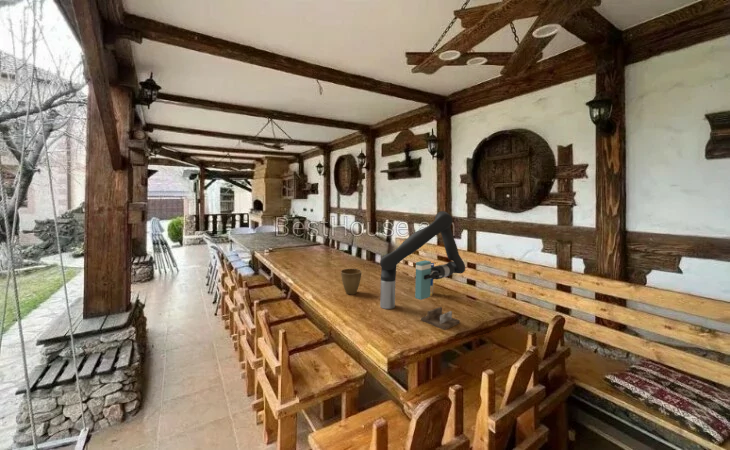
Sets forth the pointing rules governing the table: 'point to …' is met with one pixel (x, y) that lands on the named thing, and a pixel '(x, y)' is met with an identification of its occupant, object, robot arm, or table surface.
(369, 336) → the table surface
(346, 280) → the plant pot
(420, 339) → the table surface
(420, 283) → the book
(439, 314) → the book rack
